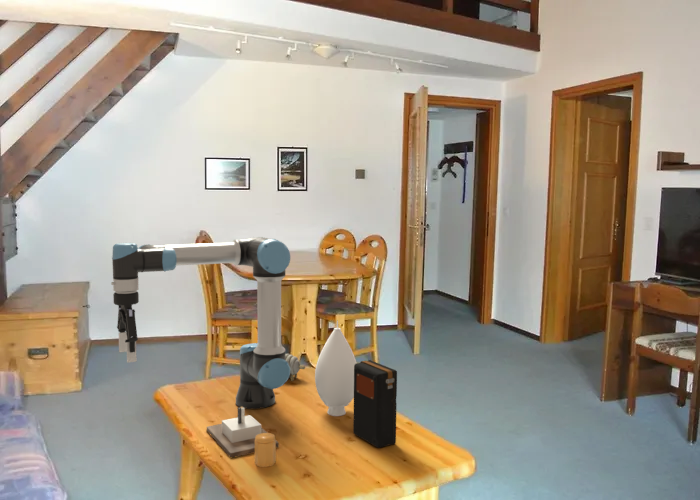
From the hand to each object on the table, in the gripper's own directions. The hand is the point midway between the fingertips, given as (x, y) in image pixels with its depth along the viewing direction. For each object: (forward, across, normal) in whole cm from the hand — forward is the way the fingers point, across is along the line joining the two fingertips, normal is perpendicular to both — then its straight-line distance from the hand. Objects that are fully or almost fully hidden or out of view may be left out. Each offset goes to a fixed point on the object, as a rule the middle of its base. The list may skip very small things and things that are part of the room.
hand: (127, 356), depth 191 cm
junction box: (+26, +17, +32) cm, 45 cm away
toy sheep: (+28, -34, +72) cm, 85 cm away
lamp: (+28, +12, +71) cm, 77 cm away
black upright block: (+28, +39, +70) cm, 85 cm away
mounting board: (+28, +17, +32) cm, 46 cm away
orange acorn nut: (+28, +37, +32) cm, 56 cm away
